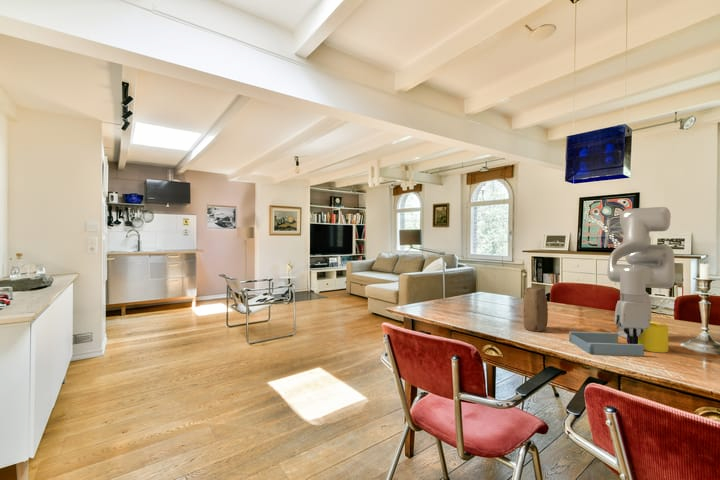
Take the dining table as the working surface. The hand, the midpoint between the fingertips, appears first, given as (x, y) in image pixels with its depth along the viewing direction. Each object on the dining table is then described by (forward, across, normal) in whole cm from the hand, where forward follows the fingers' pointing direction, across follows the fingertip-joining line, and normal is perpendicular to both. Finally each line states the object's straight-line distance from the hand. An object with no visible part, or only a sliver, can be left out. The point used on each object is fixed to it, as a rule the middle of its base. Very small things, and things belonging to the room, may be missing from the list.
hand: (632, 345), depth 125 cm
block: (+2, +26, -24) cm, 36 cm away
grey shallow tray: (+2, +10, 0) cm, 10 cm away
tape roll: (+2, -8, -2) cm, 8 cm away
